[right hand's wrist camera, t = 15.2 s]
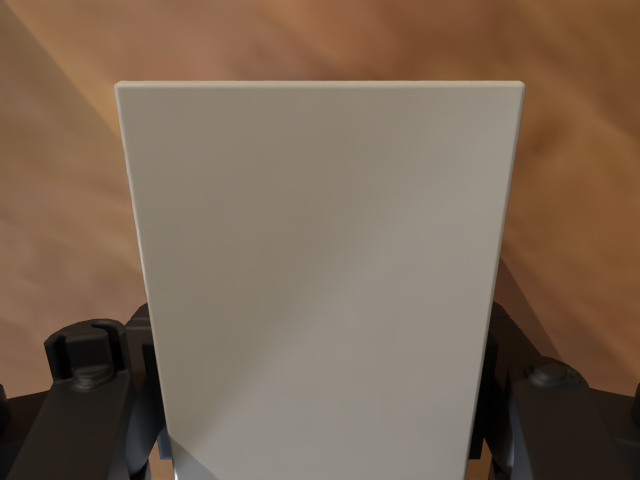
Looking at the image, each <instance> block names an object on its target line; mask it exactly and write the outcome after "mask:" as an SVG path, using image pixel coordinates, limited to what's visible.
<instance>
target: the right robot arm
mask: <svg viewBox="0 0 640 480" xmlns="http://www.w3.org/2000/svg"><path fill="white" fill-rule="evenodd" d="M44 346H45V350H46V354H47V358H48V362H49V366H50V370H51V374H52V377H53V381H54V383H53V385H52V387H51V389H50V390H48V391H44V392H40V393H35V394H30V395H25V396H20V397H15V398H10V399H7V398H6V395H5V391H4V388H3V386H2V385H1V384H0V480H151V472H150V465H149V460H148V457H149V454H150V452H151V450H152V448H153V446H154V444H155V441H156V439H157V442H158V448H159V454H160V459H172V456H171V450H170V443H169V437H168V430H167V424H166V418H165V411H164V405H163V398H162V392H161V385H160V379H159V372H158V366H157V360H156V353H155V347H154V340H153V334H152V327H151V321H150V315H149V308H148V302H147V303H146V304H144V305H142V306H141V307H139V309H138V310H137V311H136V312H135V314H134V315H133V316H132V317H131V320H129V321H128V322H127V324H126V325H125V326H124V325H123V324H122V323H120V322H119V321H116V320H111V319H92V320H87V321H82V322H78V323H75V324H72V325H69V326H67V327H64V328H62V329H60V330H59V331H57V332H55V333H54V334H52V335H51V336H50V337H49V338H48V339H47V340H46V341H45V342H44ZM484 438H485V440H486V442H487V445H488V447H489V449H490V451H491V453H492V460H491V465H490V471H489V476H488V480H640V383H639V384H638V387H637V390H636V394H635V397H630V396H625V395H620V394H615V393H610V392H605V391H600V390H596V389H592V388H589V386H588V384H587V382H586V380H585V379H584V378H583V377H582V376H581V374H580V373H579V372H578V371H576V370H575V369H573V368H572V367H570V366H569V365H567V364H565V363H563V362H560V361H558V360H556V359H553V358H549V357H545V356H541V354H540V353H539V352H538V351H537V349H536V348H535V347H534V346H533V345H532V343H531V342H530V341H529V340H528V338H527V337H526V336H525V335H524V333H523V332H522V331H521V330H520V328H518V326H517V325H516V324H515V322H514V321H513V320H512V319H510V316H509V315H508V314H507V312H506V311H505V310H504V309H503V308H502V306H501V305H499V304H498V303H496V302H494V301H493V303H492V309H491V316H490V322H489V329H488V335H487V342H486V348H485V355H484V361H483V368H482V374H481V381H480V387H479V394H478V400H477V406H476V413H475V419H474V426H473V432H472V439H471V445H470V452H469V458H468V459H480V457H481V451H482V445H483V439H484Z"/></svg>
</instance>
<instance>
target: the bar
mask: <svg viewBox="0 0 640 480" xmlns="http://www.w3.org/2000/svg"><path fill="white" fill-rule="evenodd" d="M115 96H116V102H117V109H118V115H119V121H120V128H121V134H122V141H123V147H124V154H125V160H126V167H127V173H128V179H129V186H130V192H131V199H132V205H133V212H134V218H135V224H136V231H137V237H138V244H139V250H140V257H141V263H142V269H143V276H144V282H145V289H146V295H147V302H148V308H149V315H150V321H151V327H152V334H153V340H154V347H155V353H156V360H157V366H158V372H159V379H160V385H161V392H162V398H163V405H164V411H165V418H166V424H167V430H168V437H169V443H170V450H171V456H172V463H173V469H174V475H175V480H465V478H466V471H467V465H468V458H469V452H470V445H471V439H472V432H473V426H474V419H475V413H476V406H477V400H478V394H479V387H480V381H481V374H482V368H483V361H484V355H485V348H486V342H487V335H488V329H489V322H490V316H491V309H492V303H493V296H494V290H495V284H496V277H497V271H498V264H499V258H500V251H501V245H502V238H503V232H504V225H505V219H506V212H507V206H508V199H509V193H510V186H511V180H512V173H513V167H514V161H515V154H516V148H517V141H518V135H519V128H520V122H521V115H522V109H523V102H524V96H525V84H524V83H523V82H521V81H120V82H118V83H116V84H115Z"/></svg>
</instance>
